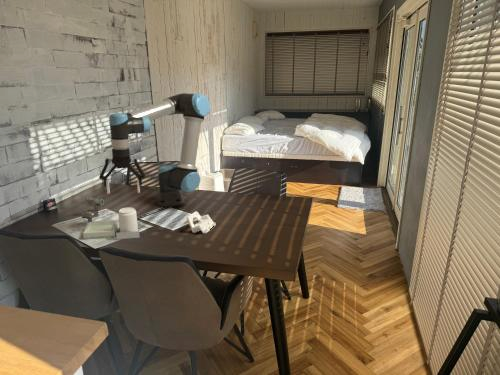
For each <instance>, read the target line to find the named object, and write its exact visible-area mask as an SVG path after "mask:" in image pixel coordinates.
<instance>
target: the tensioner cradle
mask: <svg viewBox="0 0 500 375" xmlns="http://www.w3.org/2000/svg"><path fill="white" fill-rule="evenodd" d="M137 225H138V229H141V228H142V223H141V221H137ZM118 228H120V225H119V226H118ZM115 237H116V240H125V239H127V240H128V239H136V238H137V239H138V238H140V230H138V231H130V232H120V231H119V232H118V231H117V232H116V235H115Z"/></svg>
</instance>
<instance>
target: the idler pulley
mask: <svg viewBox="0 0 500 375" xmlns="http://www.w3.org/2000/svg"><path fill="white" fill-rule="evenodd" d="M80 214H81V218H82V219H85V220H87V224H88V223H89V222H93V218H95V217H96V216H97V211H96V210H95V209H86V210H82V212H81V213H80ZM96 218H97V217H96Z"/></svg>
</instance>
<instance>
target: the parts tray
mask: <svg viewBox="0 0 500 375" xmlns="http://www.w3.org/2000/svg"><path fill="white" fill-rule="evenodd" d="M118 228H119V219H113V220H111V219H110V220H98V221H92V222H89V223H88V222H87V226H86V227H85V229H84V231H83V233H82V237H83V240H93V239H94V240H95V239H104V238H105V239H107V238H115V237H116V233H118Z"/></svg>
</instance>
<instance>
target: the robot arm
mask: <svg viewBox="0 0 500 375" xmlns="http://www.w3.org/2000/svg"><path fill="white" fill-rule="evenodd" d="M210 111H211V104H210V100H209V99H208V97H207V96H205V95H204V94H201V93H186V92H183V93H177V94H175V95H172V96H169V97H165V98H164V99H163V100H162V101H160V102H157V103H153V104H151V105H147V106H144V107H141V108H138V109H136V110H132V111H129V112H126V113H123V112H121V113H117V112H116V113H111V114H110V115H109V121H108V123H109V130H110V142H111V144H110V145H111V153H112V155H111V156H112V158H108V157H107V158H106V159H104V165H103V168H102V170H101V172H100V174H99V175H98V176H99V177H98V178H99V179H100V180H103V186H104V187H106V192H107V194H106V195H110V193H111V188H110V179H109V177H110V176H111V174H112V173H113V172H114V171H115V169H116V168H117V169H126V168H127V169H128V170H130V172H131V173H132V174H133V175H134V176H135V177H136V178H137V179H136V183H137V185H136V187H137V194H140V193H141V187H142V184H143V183H142V182H143V179H144V178H146V174H145V171H144V170H143V168H142V167H141V165H140V164H139V161H138V158H137V157H134V158H131V154H130V140H129V138H130V137H129V135H132V134H134V135H135V134H144V133H145V134H146V133H149V132H150V131H151V127H152V125H151V124H152V123H151V121H154V120H157V119H160V118H162V117H165V116H173V115H174V116H175V115H182V118H183V119H184V127H183V136H182V143H181V144H182V145H181V153H180V161H179V164H165V165H164V164H163V165H161V166H159V167H158V170H157V171H158V172H157V176H158V186H159V193H158V197H157V200H156V201H157V205H158V206H159V207H163V208H174V207H177V206H178V207H179V206H181V205H183V204H184V198H183V195H182V192H181V191H183V192H188V193H192V192H194V191H196V189H198V188H199V186H200V183H201V176H200V174H199V173H198V168H197V166H196V161H197V154H198V147H199V140H200V139H199V138H200V132H201V124H202V122H204V121H205V117H206V116H208V115H209V113H210ZM131 162H132V163H133V164H134V165H135V167H136V169H137V170H136V169H135V168H134V167H133V166H132V164H131ZM110 163H112V164H113V166H112V167H111V169H110V170H108V172H107V173H106V171H107V169H108V166H109V164H110ZM105 173H106V175H105ZM104 175H105V176H104ZM140 186H141V187H140Z"/></svg>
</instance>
